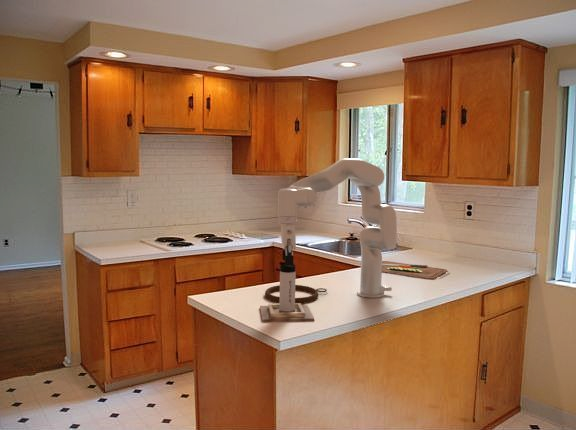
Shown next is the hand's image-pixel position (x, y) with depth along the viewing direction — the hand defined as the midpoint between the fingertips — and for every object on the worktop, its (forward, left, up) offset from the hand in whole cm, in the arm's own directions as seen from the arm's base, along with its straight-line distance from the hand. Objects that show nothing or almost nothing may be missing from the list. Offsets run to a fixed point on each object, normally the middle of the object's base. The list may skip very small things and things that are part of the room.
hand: (287, 262), depth 206 cm
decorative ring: (-8, -27, -22) cm, 35 cm away
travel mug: (0, 0, -20) cm, 20 cm away
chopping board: (-75, -76, -22) cm, 109 cm away
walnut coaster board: (0, 0, -21) cm, 21 cm away
